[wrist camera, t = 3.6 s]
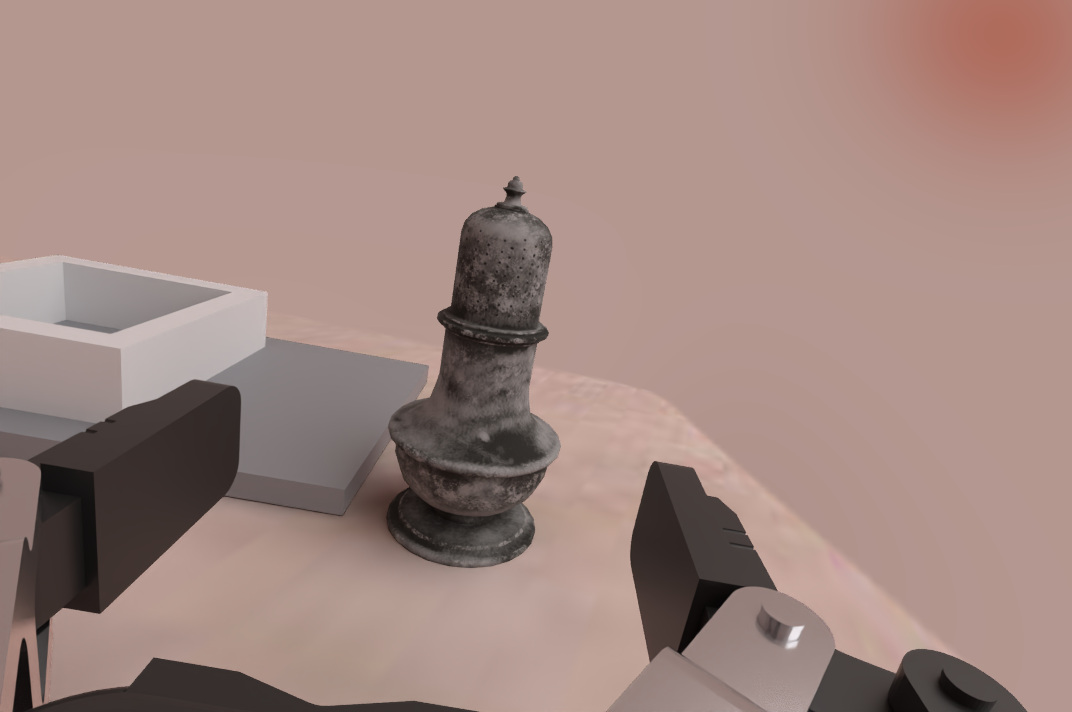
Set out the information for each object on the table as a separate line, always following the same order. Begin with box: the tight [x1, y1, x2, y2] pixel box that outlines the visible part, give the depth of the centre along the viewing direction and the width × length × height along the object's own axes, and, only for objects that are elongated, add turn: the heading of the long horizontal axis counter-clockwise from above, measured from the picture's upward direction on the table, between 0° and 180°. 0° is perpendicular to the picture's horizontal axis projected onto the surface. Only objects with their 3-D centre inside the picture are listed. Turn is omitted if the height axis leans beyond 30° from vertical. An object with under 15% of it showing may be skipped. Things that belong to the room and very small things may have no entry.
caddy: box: [0, 255, 429, 515], centre depth 26 cm, size 20×14×4 cm
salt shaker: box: [387, 176, 561, 568], centre depth 20 cm, size 6×6×12 cm
